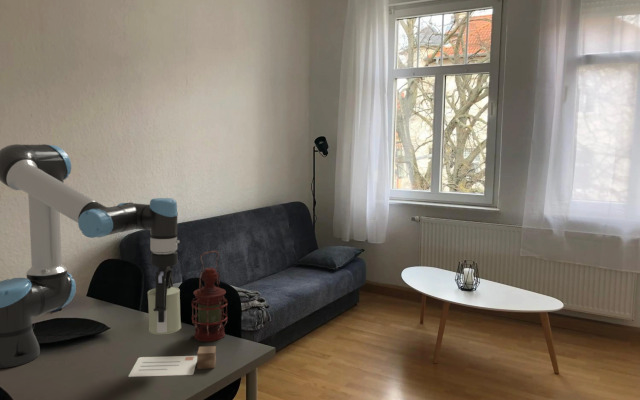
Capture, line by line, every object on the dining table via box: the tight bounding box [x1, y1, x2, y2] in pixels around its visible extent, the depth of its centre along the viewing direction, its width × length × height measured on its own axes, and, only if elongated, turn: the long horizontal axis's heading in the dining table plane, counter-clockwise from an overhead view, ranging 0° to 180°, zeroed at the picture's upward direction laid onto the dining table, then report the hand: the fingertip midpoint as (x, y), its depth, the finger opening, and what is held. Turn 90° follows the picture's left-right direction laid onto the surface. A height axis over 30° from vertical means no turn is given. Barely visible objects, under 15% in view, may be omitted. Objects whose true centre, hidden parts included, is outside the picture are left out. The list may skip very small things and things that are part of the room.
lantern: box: [191, 250, 229, 343], centre depth 172 cm, size 12×12×30 cm
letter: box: [128, 355, 197, 378], centre depth 149 cm, size 18×13×1 cm
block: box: [196, 345, 217, 370], centre depth 151 cm, size 5×5×5 cm
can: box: [147, 286, 182, 335], centre depth 147 cm, size 9×9×12 cm
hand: (165, 326), depth 148 cm, fingers closed on can, 9 cm apart
